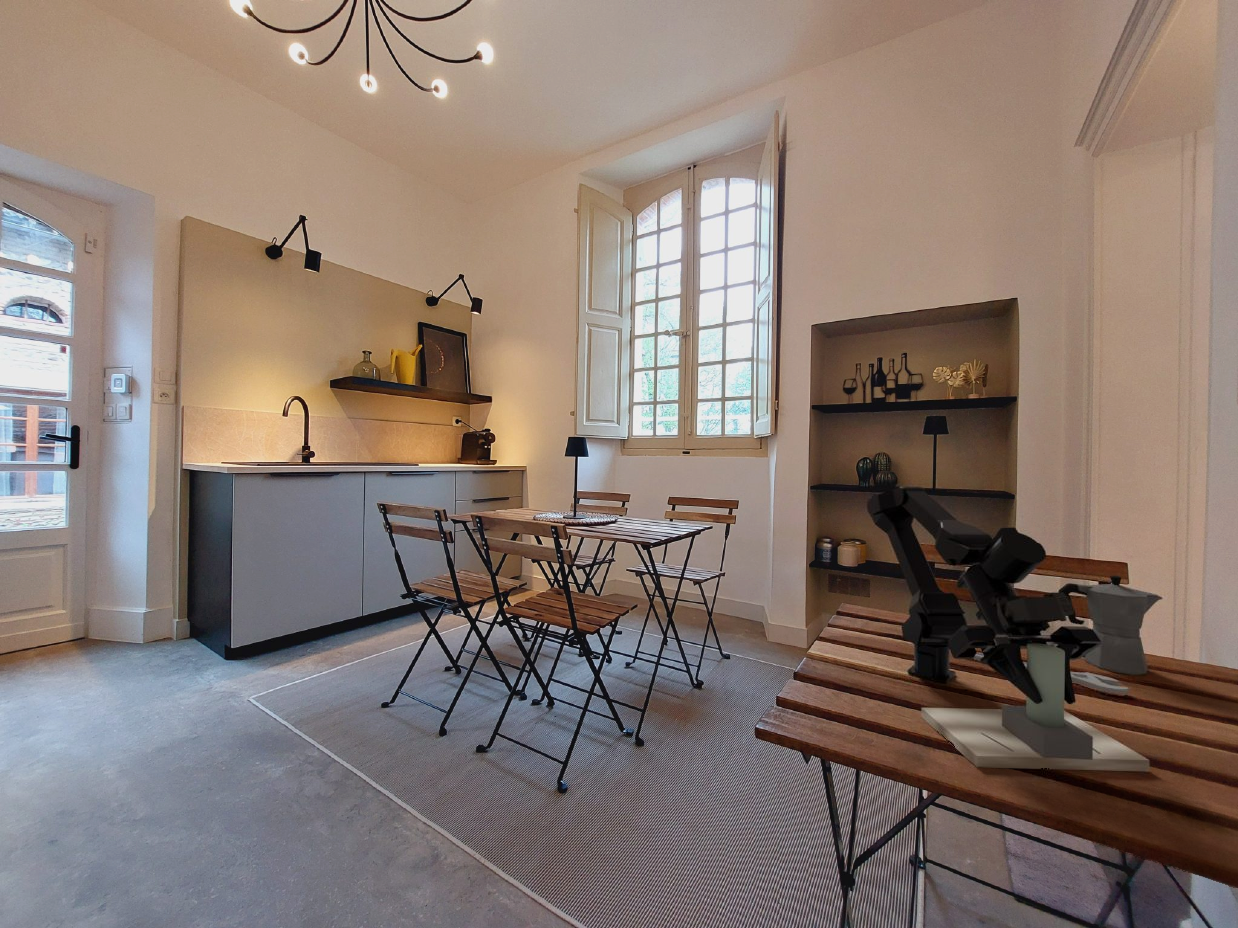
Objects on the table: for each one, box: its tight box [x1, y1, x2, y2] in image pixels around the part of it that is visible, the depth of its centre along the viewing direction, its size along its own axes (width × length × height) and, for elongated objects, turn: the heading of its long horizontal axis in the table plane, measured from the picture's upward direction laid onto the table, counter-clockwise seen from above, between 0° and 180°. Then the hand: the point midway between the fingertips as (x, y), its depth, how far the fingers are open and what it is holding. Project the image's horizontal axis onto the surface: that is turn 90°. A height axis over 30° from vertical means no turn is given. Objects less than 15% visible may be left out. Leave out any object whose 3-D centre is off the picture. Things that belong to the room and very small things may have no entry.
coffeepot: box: [1058, 575, 1163, 676], centre depth 100 cm, size 15×9×18 cm, turn 62°
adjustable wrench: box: [973, 651, 1129, 695], centre depth 97 cm, size 25×6×2 cm, turn 41°
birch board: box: [920, 707, 1150, 773], centre depth 72 cm, size 13×22×2 cm, turn 88°
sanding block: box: [1001, 643, 1093, 760], centre depth 69 cm, size 6×8×13 cm
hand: (1055, 702), depth 68 cm, fingers closed on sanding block, 4 cm apart
